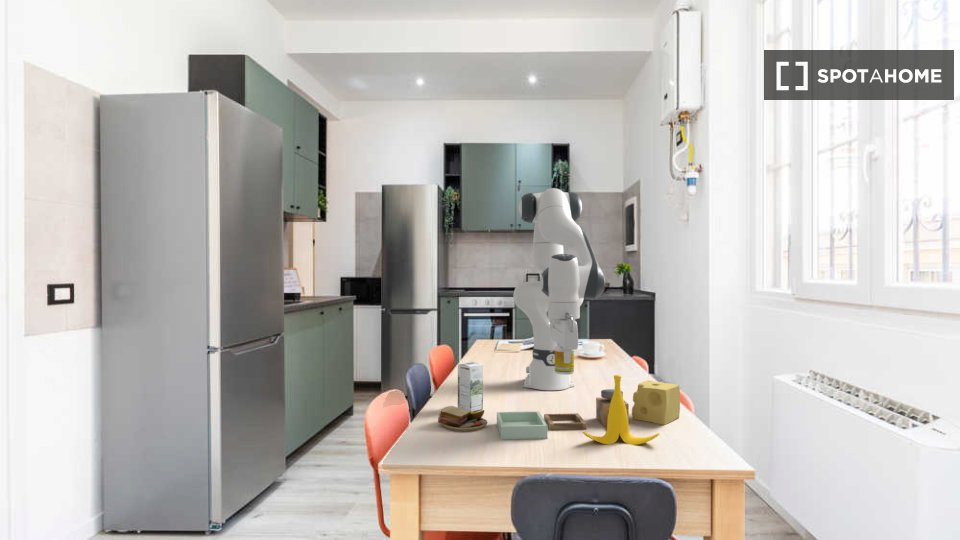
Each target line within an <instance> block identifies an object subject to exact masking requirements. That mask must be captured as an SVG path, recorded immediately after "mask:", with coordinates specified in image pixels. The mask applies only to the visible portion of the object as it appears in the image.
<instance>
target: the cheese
mask: <svg viewBox="0 0 960 540" xmlns="http://www.w3.org/2000/svg"><path fill="white" fill-rule="evenodd" d="M680 392H681V391H680V385H679V384H676V383H669V382H668V383H666V382H659V381H654V380H645V381H641V382H640V383H638V384H637V389H636V391H634V392H633V396H632V402H633V403H634V404H633V406H632V407H631V416H632V419H633V420H637V421H638V420H640V421H644V422H650V423H654V424H658V425H663V426H665V425H668V424H669V423H671V422H673V421H675V420H677V419H679V418H680V414H681V413H680V411H681V393H680Z"/></svg>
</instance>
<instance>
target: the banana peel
mask: <svg viewBox="0 0 960 540" xmlns="http://www.w3.org/2000/svg"><path fill="white" fill-rule="evenodd" d="M613 379H614V394H613V397H612V400H611V403H610V407H609V411H608V420H607V426H606V431H605V433H604V435H603V436H596V435H592V434H590V433H588V432H586V431H582V432H581V433H582V434H583V435H584V436H585V437H587V438H588V439H591V440H592V441H595V442H598V443H600V444H604V445H612V444H613V445H614V444H615V443H616V442H617V441H618V439H619V437H620V438H621V440H622V441H623V442H624V443H625V444H626V445H630V446H637V445H641V444H646V443H649V441H653V440H654V439H655V438H657V437H659V436H660V435H661V434H660V432H658V433H655V434H653V435H650V436H645V437H639V436H633V434H631V433H630V430H629V429H630V428H629V427H630V424H629V425H628V416H627V411H626V406H625V403H624V401H625V400H624V397H622V394H621V391H622V390H621V380H622V375H621V374H614V375H613Z"/></svg>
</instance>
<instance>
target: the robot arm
mask: <svg viewBox="0 0 960 540" xmlns="http://www.w3.org/2000/svg"><path fill="white" fill-rule="evenodd" d="M582 203H583V202H582V200H581V197H580V195H579V194H578V193H576V192H573V191H568V192H566V191H563V190H561V189H560V188H556V187H553V188H548V189H545V190H544V191H543V192H534V193H533V192H528V193H526V194H523V195H522V196H521V198H520V201H519V203H518V214H519V215H520V218H521V220H522V221H523V222H524V223H528V224H533V223H534V228H533V241H532V243H533V244H532V245H533V248H532V253H533V254H532V258H533V264H534V266H535V268H537V269H538V270H540V271H541V272H542V273H541V278H542V279H541V280H529V281H524V282H520V283H518V284H517V285H516V287H515V288H514V291H513V296H512V297H513V301H514V304H515V306H516V307H517V308H518V309H519V310H520V311H522V312H523V313H524V314H525V315H526V316H527V317H528V320H529V321H530V324H531V326H532V335H533V348H532V351H531V354H532V360H531V362H530V363H529V365H528V366H526V368H525V373H526V374H527V376H526V377H525V379H524V382H523V387H524V388H530V389H534V390H541V391H560V390H561V391H562V390H566V389H569V388H572V387H573V388H574V387H575V383H574V382H572V381H571V374H568V375H562V374H557V373H555V347H556V346H558V344H557V339H558V343H559V345H560V346H562V347H563V351H564V356H563V362H564V363H565V364H569V363H570V362H571V353H572V350H574V351H575V350H578V348H579V331H578V323H577V322H578V321H576V320H578V319H580V317H581V306H582V304H583V302H584V300H593V301H594V300H596V299H597V298H599V297H600V296H601V295H602V294H603V293H604V292H605V288H606V287H605V286H606V279H605V276H604V272H603V269H602V268H601V267H600V265H599V263H598V260H597V257H596V254H595V253H594V252H595V251H594V250H593V247H592V244H591V241H590V239H589V236H588V235H587V232H586V230H585V229H584V227H582V226H581V225H579V224H577V223H576V221H577V220H578V219H579V218H580V215H581V214H582V211H583V204H582ZM564 247H566V248H568V249H572V250H573V251H575V252H576V253H577V255H578V258H579V261H580V264H581V265H579V262H578V258H577V256H575V255H574V254H568V253H564V252H565V251H564Z"/></svg>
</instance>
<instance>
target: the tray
mask: <svg viewBox="0 0 960 540" xmlns="http://www.w3.org/2000/svg"><path fill="white" fill-rule="evenodd" d="M496 426H497V429H498V432H499V436H500V437H499V438H500V440H501V441H502V440H539V439H540V440H541V439H542V440H543V439H548V425H547V424H546V422H545V420H544V417H543V416H542V414H541V413H540V411H539V410H537V411H536V410H535V411H533V410H531V411H530V410H529V411H526V410H525V411H497V412H496Z"/></svg>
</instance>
